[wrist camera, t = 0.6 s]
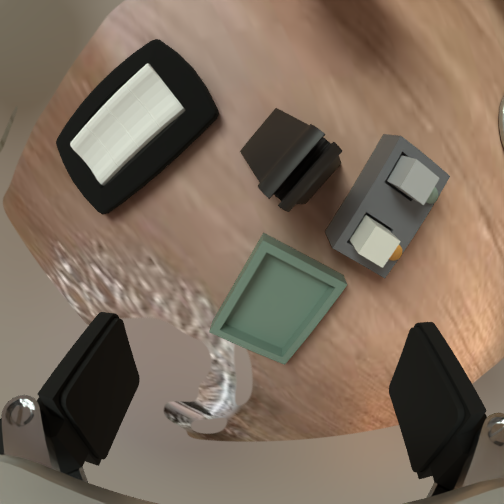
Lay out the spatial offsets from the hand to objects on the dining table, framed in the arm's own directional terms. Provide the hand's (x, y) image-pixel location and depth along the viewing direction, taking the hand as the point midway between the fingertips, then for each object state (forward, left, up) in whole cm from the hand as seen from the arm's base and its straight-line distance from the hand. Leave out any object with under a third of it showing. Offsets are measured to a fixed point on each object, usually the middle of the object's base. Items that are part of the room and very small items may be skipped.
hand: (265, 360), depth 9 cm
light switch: (+18, 0, -26) cm, 32 cm away
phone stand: (0, -4, -26) cm, 26 cm away
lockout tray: (-7, +12, -26) cm, 29 cm away
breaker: (-10, -9, -21) cm, 25 cm away
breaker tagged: (-10, -2, -21) cm, 24 cm away
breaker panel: (-11, -5, -26) cm, 28 cm away
